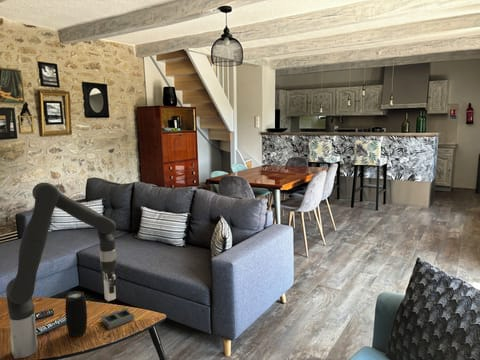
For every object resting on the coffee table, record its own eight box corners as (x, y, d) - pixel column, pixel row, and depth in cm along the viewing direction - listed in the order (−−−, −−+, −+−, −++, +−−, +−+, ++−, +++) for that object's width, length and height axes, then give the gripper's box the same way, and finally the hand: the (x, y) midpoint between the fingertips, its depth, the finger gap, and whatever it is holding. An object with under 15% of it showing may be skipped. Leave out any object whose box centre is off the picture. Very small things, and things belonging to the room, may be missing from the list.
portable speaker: (91, 329, 177) (89, 291, 174) (78, 339, 168) (76, 300, 165) (76, 326, 179) (74, 289, 177) (62, 337, 170) (60, 297, 168)
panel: (109, 329, 177) (108, 324, 177) (101, 321, 184) (100, 316, 184) (134, 320, 186) (133, 315, 185) (125, 312, 193) (125, 307, 193)
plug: (108, 301, 178) (107, 281, 177) (104, 298, 181) (103, 279, 180) (118, 297, 182) (117, 278, 180) (114, 295, 185) (113, 276, 183)
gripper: (94, 256, 181) (96, 289, 183) (106, 264, 170) (108, 298, 173) (109, 252, 186) (111, 284, 188) (121, 260, 175) (123, 294, 178)
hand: (109, 291), depth 181 cm, fingers closed on plug, 4 cm apart
